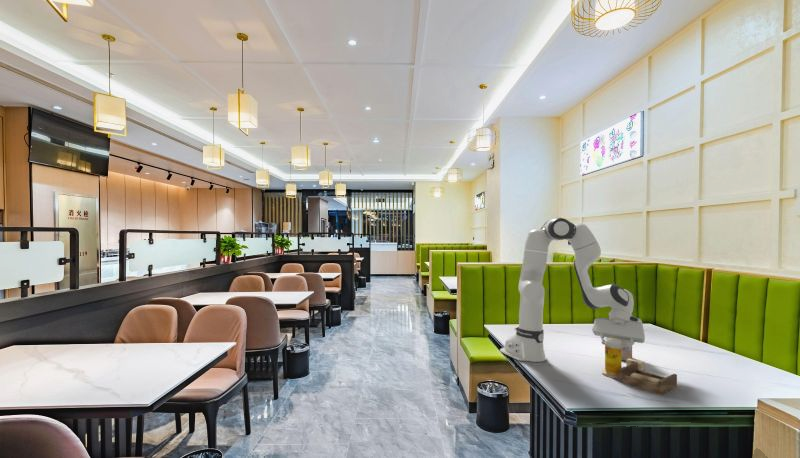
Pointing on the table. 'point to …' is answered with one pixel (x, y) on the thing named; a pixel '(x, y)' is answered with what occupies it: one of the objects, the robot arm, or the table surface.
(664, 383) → the rack
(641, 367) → the offcut top
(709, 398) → the table surface
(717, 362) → the table surface
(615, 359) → the beer glass
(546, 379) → the table surface
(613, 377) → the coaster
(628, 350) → the cracker box
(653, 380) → the offcut bottom
